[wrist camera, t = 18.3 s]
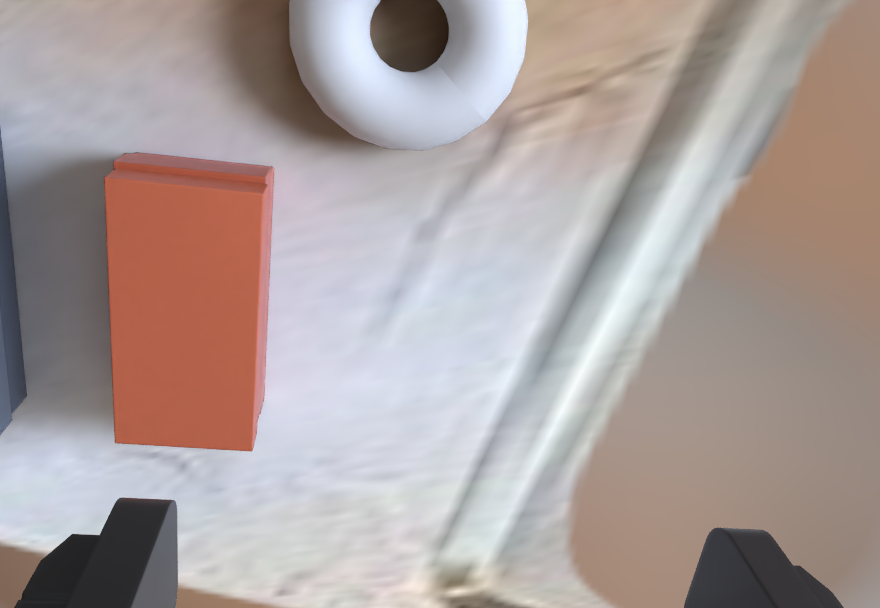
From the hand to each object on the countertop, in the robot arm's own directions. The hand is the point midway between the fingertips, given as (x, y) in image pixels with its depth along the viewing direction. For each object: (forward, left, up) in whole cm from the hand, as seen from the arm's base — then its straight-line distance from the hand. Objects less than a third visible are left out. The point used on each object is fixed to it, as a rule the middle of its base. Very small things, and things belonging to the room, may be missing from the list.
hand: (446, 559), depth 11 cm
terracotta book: (+7, -8, -23) cm, 25 cm away
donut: (-6, 0, -26) cm, 27 cm away
